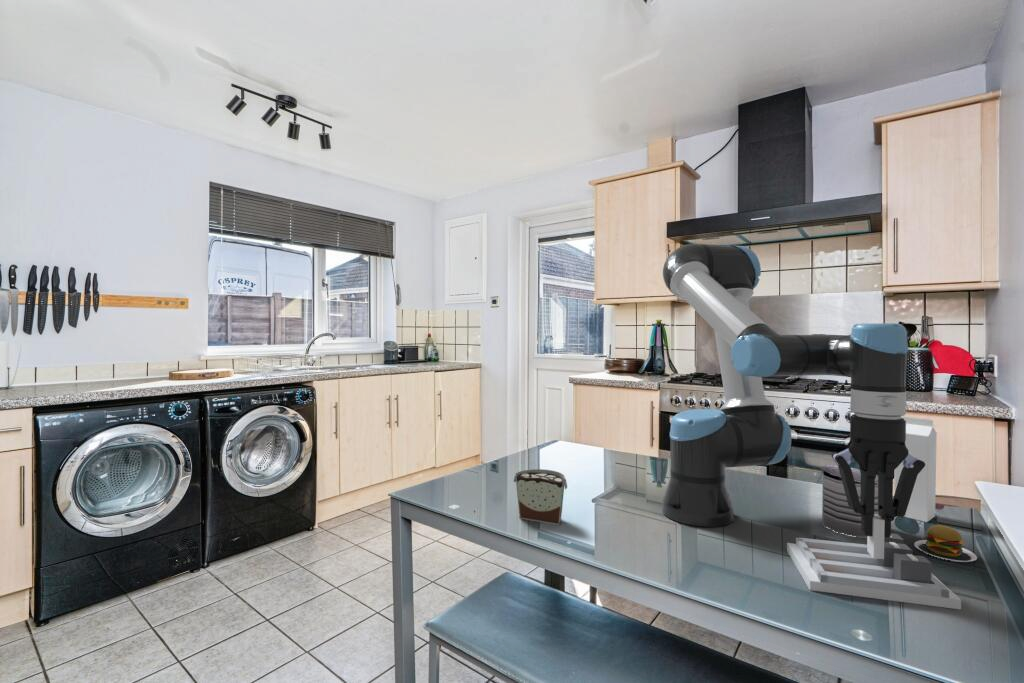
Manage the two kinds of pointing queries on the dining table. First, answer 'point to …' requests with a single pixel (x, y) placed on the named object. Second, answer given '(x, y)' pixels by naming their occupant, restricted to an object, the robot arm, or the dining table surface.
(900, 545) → the breaker mid
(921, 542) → the hamburger
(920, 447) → the milk
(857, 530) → the can
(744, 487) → the dining table surface
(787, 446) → the robot arm
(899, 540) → the breaker far
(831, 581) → the panel
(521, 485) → the food container
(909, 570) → the breaker near
